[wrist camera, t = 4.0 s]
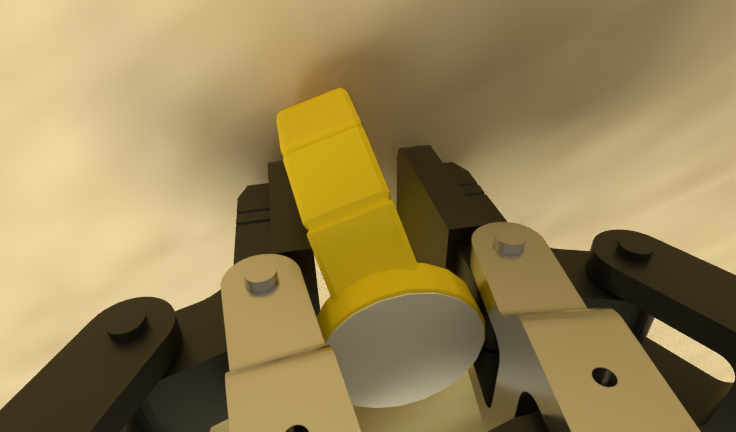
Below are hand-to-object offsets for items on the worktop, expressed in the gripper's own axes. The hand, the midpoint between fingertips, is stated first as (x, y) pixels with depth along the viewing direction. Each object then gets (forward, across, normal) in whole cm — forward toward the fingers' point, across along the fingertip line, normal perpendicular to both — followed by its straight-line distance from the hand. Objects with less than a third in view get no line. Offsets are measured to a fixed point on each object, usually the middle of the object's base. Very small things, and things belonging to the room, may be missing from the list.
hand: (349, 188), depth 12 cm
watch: (+1, 0, 0) cm, 1 cm away
